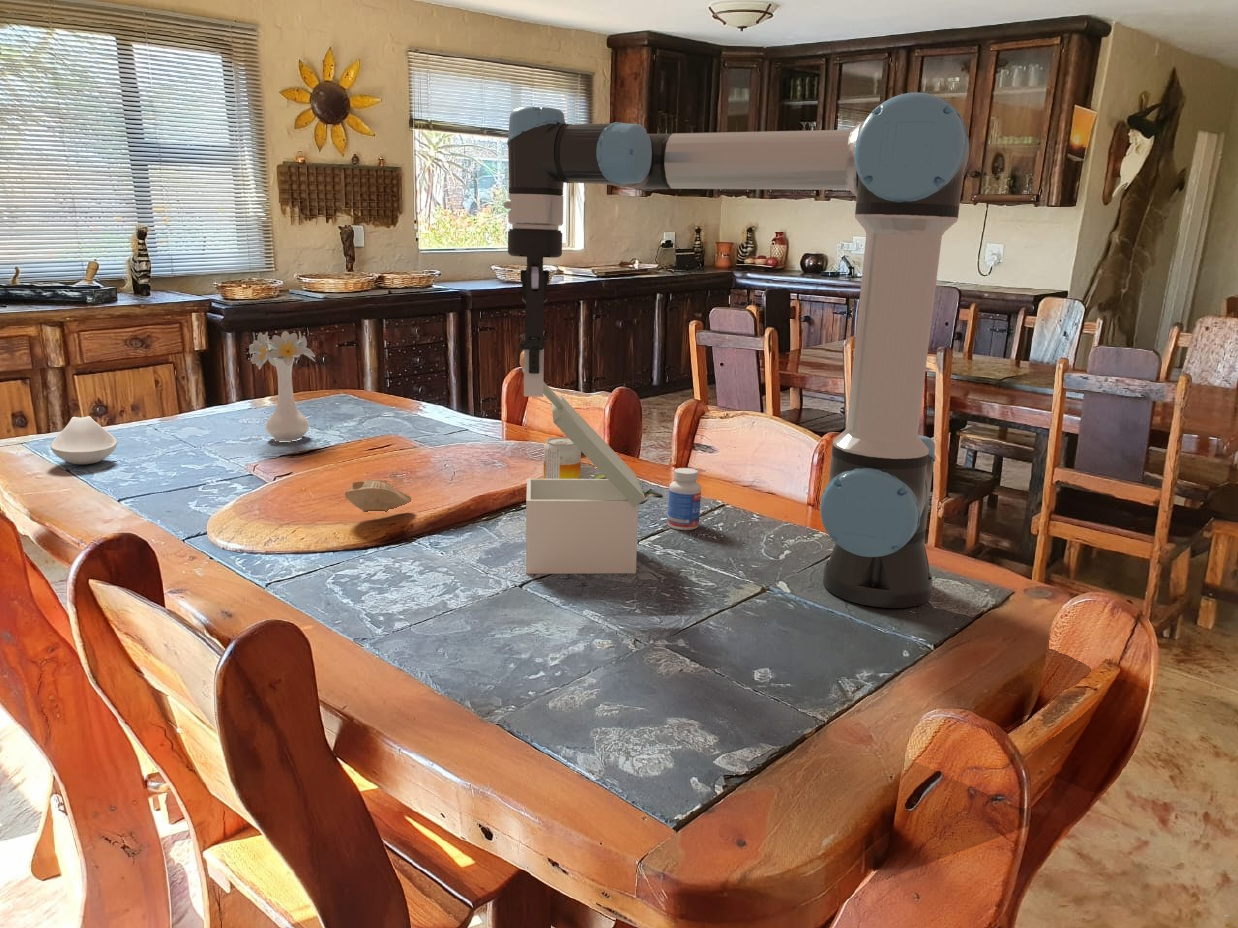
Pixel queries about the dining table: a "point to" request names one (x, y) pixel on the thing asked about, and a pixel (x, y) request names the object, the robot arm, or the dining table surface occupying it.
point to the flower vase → (283, 382)
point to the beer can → (561, 459)
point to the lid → (593, 446)
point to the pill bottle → (684, 500)
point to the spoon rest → (83, 442)
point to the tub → (579, 527)
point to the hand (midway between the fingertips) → (533, 390)
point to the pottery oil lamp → (375, 496)
